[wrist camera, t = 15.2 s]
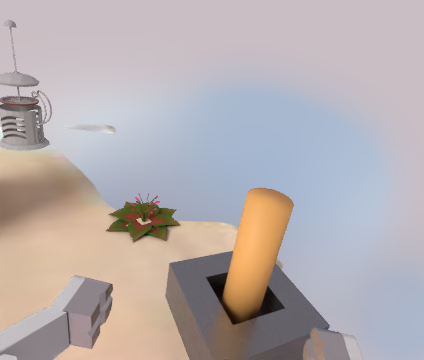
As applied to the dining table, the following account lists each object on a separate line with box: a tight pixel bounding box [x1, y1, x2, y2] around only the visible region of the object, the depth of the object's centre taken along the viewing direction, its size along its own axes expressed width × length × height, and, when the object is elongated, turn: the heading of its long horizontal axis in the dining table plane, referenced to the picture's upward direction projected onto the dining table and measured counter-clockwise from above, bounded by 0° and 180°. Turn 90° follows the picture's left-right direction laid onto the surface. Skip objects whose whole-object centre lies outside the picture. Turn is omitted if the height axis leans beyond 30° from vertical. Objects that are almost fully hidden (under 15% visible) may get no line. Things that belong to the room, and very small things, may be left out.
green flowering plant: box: [106, 194, 179, 242], centre depth 46 cm, size 12×12×5 cm
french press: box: [0, 20, 52, 150], centre depth 61 cm, size 10×12×25 cm
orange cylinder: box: [221, 188, 294, 325], centre depth 28 cm, size 4×4×16 cm
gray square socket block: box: [166, 251, 329, 360], centre depth 30 cm, size 12×12×5 cm
